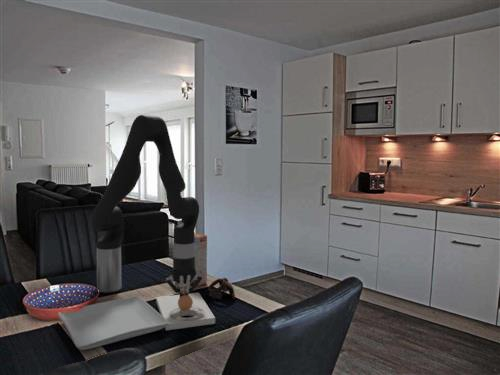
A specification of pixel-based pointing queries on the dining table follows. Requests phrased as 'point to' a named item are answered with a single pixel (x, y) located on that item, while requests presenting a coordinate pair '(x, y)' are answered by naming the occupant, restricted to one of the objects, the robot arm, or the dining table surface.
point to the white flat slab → (184, 312)
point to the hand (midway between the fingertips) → (183, 303)
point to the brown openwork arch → (221, 287)
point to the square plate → (111, 322)
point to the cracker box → (200, 257)
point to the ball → (185, 302)
